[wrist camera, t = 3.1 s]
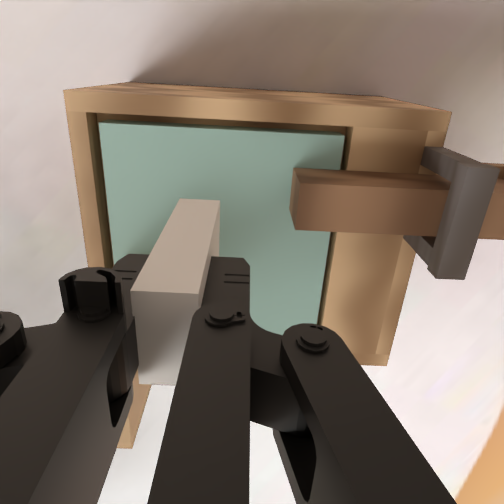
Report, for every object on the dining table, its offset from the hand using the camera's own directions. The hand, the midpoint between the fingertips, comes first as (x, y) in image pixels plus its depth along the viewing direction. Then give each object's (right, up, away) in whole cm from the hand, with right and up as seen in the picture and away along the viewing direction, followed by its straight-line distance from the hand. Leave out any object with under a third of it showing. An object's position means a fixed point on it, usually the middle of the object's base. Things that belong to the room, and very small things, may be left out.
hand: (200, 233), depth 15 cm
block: (+11, +3, +7) cm, 13 cm away
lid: (0, 0, +10) cm, 10 cm away
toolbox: (+4, +4, +20) cm, 21 cm away
